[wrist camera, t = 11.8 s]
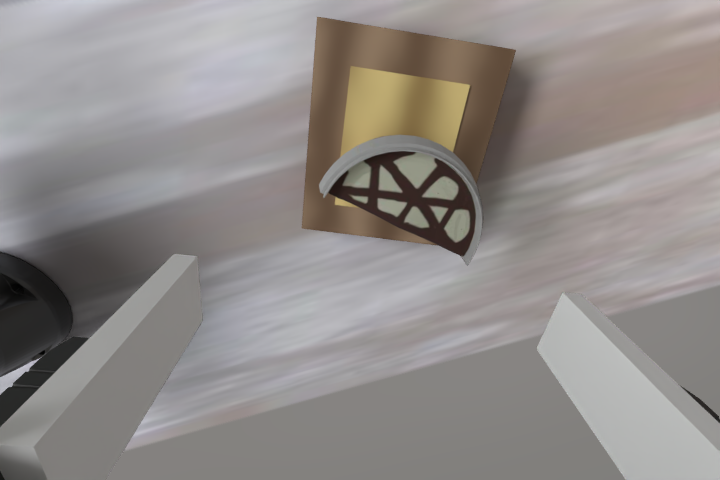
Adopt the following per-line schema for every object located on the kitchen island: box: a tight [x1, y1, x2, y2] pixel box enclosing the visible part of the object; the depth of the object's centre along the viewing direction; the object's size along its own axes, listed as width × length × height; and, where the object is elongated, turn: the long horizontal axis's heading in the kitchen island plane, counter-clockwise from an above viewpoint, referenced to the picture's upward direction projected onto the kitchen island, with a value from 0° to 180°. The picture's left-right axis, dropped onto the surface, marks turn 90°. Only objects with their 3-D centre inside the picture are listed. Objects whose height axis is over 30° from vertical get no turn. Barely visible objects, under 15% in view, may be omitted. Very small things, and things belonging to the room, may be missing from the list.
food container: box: [319, 135, 483, 265], centre depth 26 cm, size 12×6×10 cm, turn 63°
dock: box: [302, 17, 516, 245], centre depth 32 cm, size 16×18×4 cm
